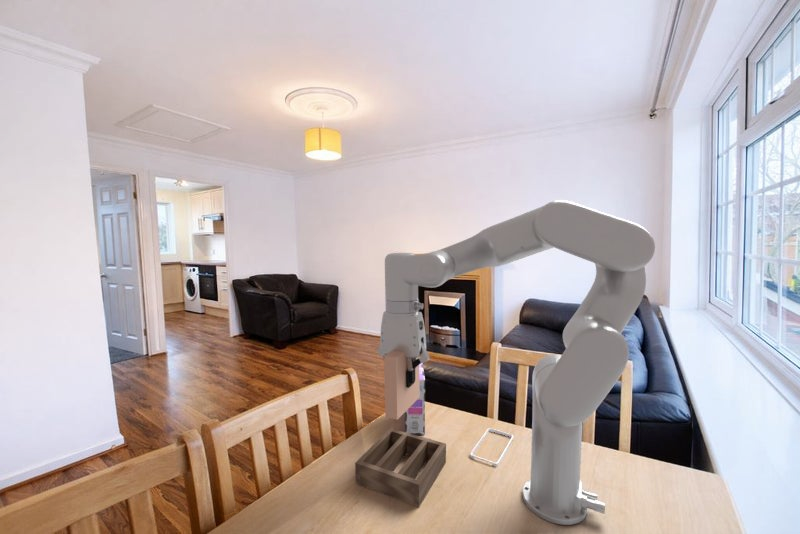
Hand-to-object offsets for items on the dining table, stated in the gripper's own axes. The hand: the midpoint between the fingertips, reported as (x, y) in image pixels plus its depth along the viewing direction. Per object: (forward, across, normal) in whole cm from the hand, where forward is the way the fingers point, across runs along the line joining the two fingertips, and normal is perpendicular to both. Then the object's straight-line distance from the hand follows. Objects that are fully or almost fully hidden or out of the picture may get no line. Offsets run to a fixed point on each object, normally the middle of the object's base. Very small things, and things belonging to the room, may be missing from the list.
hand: (403, 383), depth 84 cm
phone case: (+23, -16, -20) cm, 35 cm away
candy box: (+23, +7, -22) cm, 32 cm away
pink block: (+6, 0, 0) cm, 6 cm away
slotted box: (+22, 0, 0) cm, 22 cm away
